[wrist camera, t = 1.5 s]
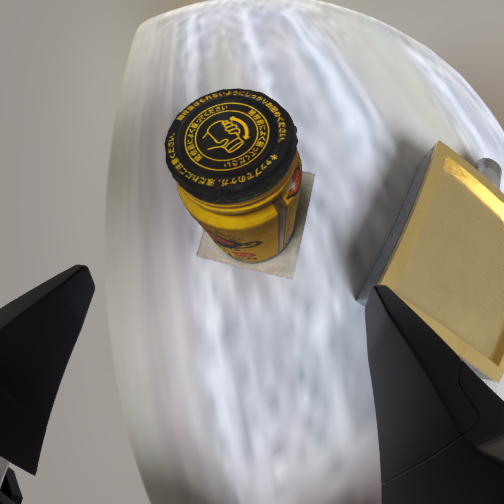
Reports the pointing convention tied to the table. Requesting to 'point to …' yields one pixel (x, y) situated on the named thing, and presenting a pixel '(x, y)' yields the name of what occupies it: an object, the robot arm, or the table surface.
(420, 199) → the gold square tray
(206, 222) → the condiment
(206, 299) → the table surface
